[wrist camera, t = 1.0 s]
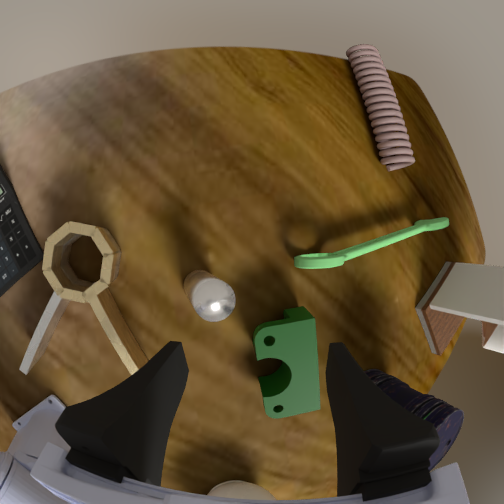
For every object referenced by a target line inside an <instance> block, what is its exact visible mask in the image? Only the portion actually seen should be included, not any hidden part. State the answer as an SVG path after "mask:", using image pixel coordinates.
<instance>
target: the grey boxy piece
mask: <svg viewBox="0 0 504 504" xmlns="http://www.w3.org/2000/svg"><path fill="white" fill-rule="evenodd" d="M415 309H416V311H417V314H418V316H419V319H420V321H421V324H422V327H423V329H424V332H425V335H426V337H427V340H428V343H429V346H430V348H431V351H432V353H435V354H437V355H440V356H441V354H442V353H443V351H444V350H445V348H446V347H447V345H448V344H449V342H450V341H451V339H452V337H453V336H454V334H455V332H456V331H457V329H458V327H459V326H460V324H461V322H462V321H463V319H464V317H468V318H472V319H477V320H480V321H481V322H482V347H483V348H487V349H490V350H493V351H497V352H501V353H504V267H502V266H490V265H480V264H468V263H457V262H446V263H445V264H444V266H443V268H442V269H441V271H440V272H439V274H438V275H437V277H436V279H435V280H434V282H433V283H432V285H431V286H430V288H429V289H428V291H427V292H426V293H425V295H424V296H423V298H422V299H421V301H420V302H419V303H418V305H417V306H416V308H415Z"/></svg>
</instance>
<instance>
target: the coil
mask: <svg viewBox="0 0 504 504" xmlns="http://www.w3.org/2000/svg"><path fill="white" fill-rule="evenodd" d="M362 49H368V50H362ZM357 50H361V51H357ZM355 51H357V52H355ZM353 52H355V53H353ZM352 53H353V54H352ZM346 55H347V57H348V60H349V62H350V63H351V67H352V68H353V73H354V74H355V75H356V76H355V78H356V80H357V81H358V86H359V87H361V88H360V92H361V93H362V94H363V95H362V98H363V99H364V100H365V102H364V104H365V106H366V107H368V108H367V113H369V114H370V115H369V119H370V120H371V121H372V122H371V126H372V127H373V128H375V129H374V130H373V133H374V134H375V135H378V136H376V137H375V141H377V142H381V143H379V144H377V148H378V149H386V150H382V151H380V152H379V156H381V157H385V156H390V155H395V154H400V155H397V156H393V157H387V158H383V159H381V163H382V164H389V163H396V164H392V165H387V166H386V167H387V170H388V171H391V170H396V169H399V168H403V167H406V166H409V165H412V164H413V163H414V162H415V158H414V157H412V155H413V151H412V150H411V149H410V148H411V143H410V142H409V141H408V140H409V136H408V134H406V133H407V128H406V127H405V126H404V125H405V121H404V120H403V119H402V118H403V115H402V113H401V112H400V106H399V105H398V100H397V99H396V98H395V97H396V94H395V92H394V91H393V86H392V85H391V80H390V79H389V78H388V77H389V76H388V73H387V72H386V68H385V67H384V63H383V61H382V60H381V56H380V54H379V52H378V49H377V48H376V47H374V46H372V45H368V44H360V45H356V46H353V47H351V48H349V49H348V50H347V52H346ZM364 55H371V56H364ZM360 56H364V57H360ZM354 59H355V60H354ZM371 61H373V62H371ZM373 67H374V68H373ZM371 68H372V69H371ZM362 70H363V71H362ZM372 74H375V75H372ZM369 75H371V76H369ZM363 76H366V77H363ZM376 80H378V81H376ZM371 81H375V82H371ZM367 82H371V83H367ZM376 87H378V88H376ZM371 88H375V89H371ZM389 95H390V96H389ZM390 102H392V103H390ZM392 109H394V110H392ZM393 116H396V117H393ZM395 123H398V124H396V125H393V124H395ZM395 131H399V132H395ZM397 138H401V139H398V140H393V139H397ZM390 140H391V141H390ZM396 146H401V147H398V148H392V147H396ZM387 148H392V149H387ZM397 162H399V163H397Z"/></svg>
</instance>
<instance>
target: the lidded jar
mask: <svg viewBox="0 0 504 504" xmlns="http://www.w3.org/2000/svg"><path fill="white" fill-rule="evenodd" d="M207 495H208V496H216V497H225V498H235V499H250V500H277V499H276V498H275V497H274V496H273V495H272V494H271V493H270V492H269V491H267V490H266V489H264V488H263V487H261V486H259V485H256V484H253V483H248V482H245V481H241V480H232V481H226V482H223V483H220V484H218V485H216V486H215V487H213V488H212V489H211V491H210V492H209V493H208V494H207Z"/></svg>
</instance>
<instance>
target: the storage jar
mask: <svg viewBox="0 0 504 504" xmlns="http://www.w3.org/2000/svg"><path fill="white" fill-rule="evenodd" d="M364 372H365V373H366V374H367V376H368V377H369V378H370V379H371V380H372V381H373V382H374V383H375V384H376V385H377V386H378V387H379V388H380V389H381V390H382V391H383V392H384V393H385V394H386V395H387V396H389V397H390V398H391V399H392V400H394V401H395V402H396V403H398V404H399V405H400V406H402V407H403V408H405V409H406V410H408V411H410V412H411V413H413V414H415V415H416V416H418V417H420V418H422V419H425V420H427V421H429V422H431V423H433V425H434V427H435V428H436V430H437V433H438V435H439V438H440V445H439V447H438V448H437V450H436V451H435V452H434V453H433V455H432V456H431V457H430V458H429V461H430V467H428V469H429V472H430V471H431V470H432V469H433V468H434V467H435V466H436V465H437V464H438V463H439V462H440V461H441V460H442V458H443V457H444V456H445V455H446V453H447V452H448V450H449V449H450V448H451V446H452V445H453V443H454V441H455V440H456V438H457V436H458V434H459V432H460V429H461V427H462V423H463V419H464V412H463V411H462V410H460V409H458V408H454V407H453V406H451V405H449V404H448V403H447V402H445V401H443V400H440V399H437V398H435V397H434V396H432V395H428V394H422V393H420V392H418V391H416V390H414V389H412V388H410V387H409V385H408V384H406V383H404V382H402V381H400V380H399V379H398V378H396V377H394V376H392V375H388V374H386V373H384V372H382V371H380V370H378V369H370V370H366V371H364Z"/></svg>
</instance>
